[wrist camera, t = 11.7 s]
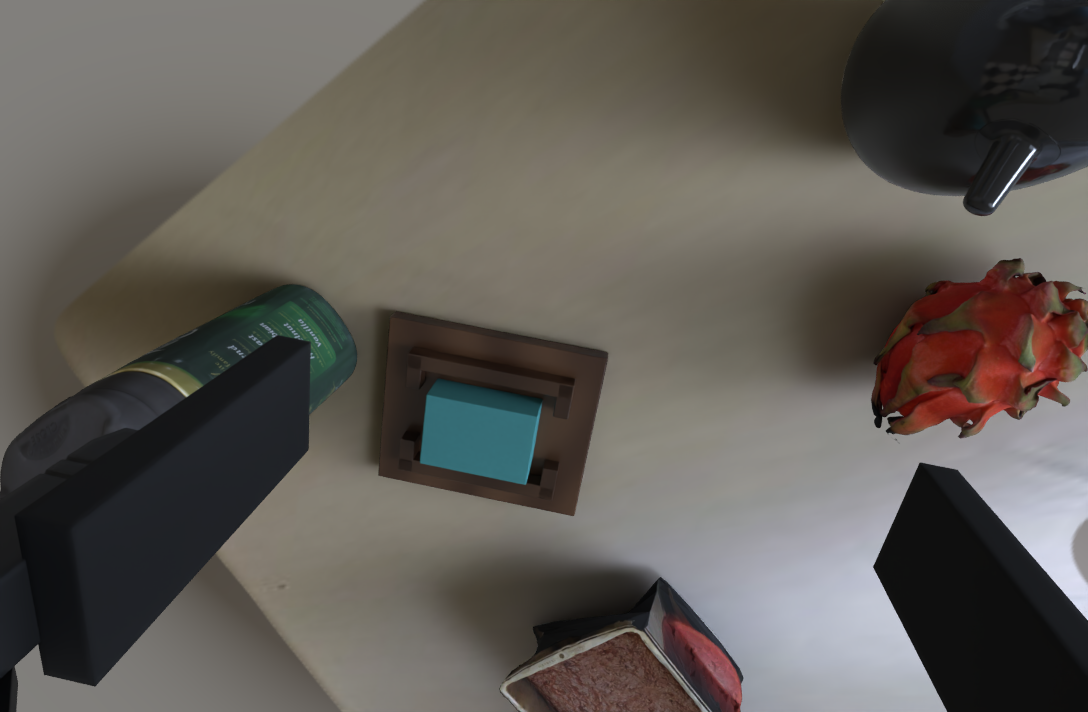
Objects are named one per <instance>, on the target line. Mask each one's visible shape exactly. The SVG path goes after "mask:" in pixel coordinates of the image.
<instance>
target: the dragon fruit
mask: <svg viewBox="0 0 1088 712" xmlns="http://www.w3.org/2000/svg"><path fill="white" fill-rule="evenodd" d="M1024 270H1025V266H1024V262H1023V260H1022V259H1021V258H1019V259H1013V260H1001V261H999V262H998V263H997V264H996V265H995V266H994V267H993V269H991V270H989V271H988V272H987V275H986V276H985V278H984V279H983V280H981V281H980V282H972V283H954V282H951V281H948V280H947V281H939V282H934V283H932V284H930V285H929V286H928V287H927V288H926V289H925V292H926V297H923V298H921V299H920V300H917V301H916V302H914V303H913V304H912V305H911V307H910V308H909V309H908V311H907V312H906V314H905V316H904V318H903V319H902V320H901V322H900V323H899V324H898V325H897V327H896V328H895V329H894V331H893V332H892V334H891V335H890V337H889V339H888V341H887V343H886V345H885V347H884V349H883V350H882V351H881V353H880V354H879V355H878V356H877V357H876V358H875V360H874V364H875V365H877V364H878V366H877V372H876V382H875V387H874V390H873V393H872V398H871V403H872V409H873V413H874V415H875V416H876V418H875V420H874V423H875V426H876V427H877V428H880V427H881V423H882V416H883V417H886V416H887V415H888V414H890V413H895V412H896V411H898V412H900V414H901V415H903V416H904V417H903V416H898V417H888V418H887V420H888V423H889V424H890V426H891V427H890V428H888V429H887V430H886V432H887V433H892V434H893V435H894V434H895V433H897V434H902V435H909V434H914V433H917V432H920V431H922V430H924V429H926V428H928V427H931V426H934V425H937V424H939V423H941V422H943V421H944V420H946V419H949V418H950V419H951V421H952V422H953V423H954V424H956V425H958V426H959V427H961V428H962V429H961V430H962V432H961V433H960V435H959V436H958V437H959V438H966V437H969V436H973V435H975V434H977V433H979V432H980V431H981V430H982V428H983V427H984V425H985V423H986V422H987V420H988V419H989V418H990V417H991V416H993V415H994V414H996V413H998V412H1000V411H1002V410H1005V411H1006V412H1007V413H1008V414H1009V415H1010V416H1011V417H1012V418H1015V419H1018V420H1020V419H1022V417H1023V415H1024V414H1025V413H1026V412H1027V411H1028V410H1031V409H1032V408H1035V407H1036V405H1037V403H1038V400H1039V396H1038V395H1040V396H1043V397H1046V398H1048V399H1051V400H1054V401H1056V402H1059V403H1061V404H1062V406H1067V405H1068V404H1069V403H1070V399H1069V398H1068V397H1067V396H1065V395H1064V394H1063V393H1061V392H1060V391H1059V390H1058V389H1057V386H1058V384H1059V381H1061V382H1071V381H1074V380H1075V379H1076V378H1077V377H1078V376H1079V375H1080V374H1081V372H1084V371H1085V372H1086V371H1087V370H1088V369H1087V365H1086V364H1085V363H1084V362H1083V361H1082V360H1081V356H1082V355H1083V354H1084V353H1085V352H1086V351H1087V350H1088V301H1086V300H1084V299H1075V300H1073V299H1066V296H1067V294H1068V293H1069V292H1071V291H1076V290H1078V291H1080V292H1081V293H1084V292H1083V291H1082V290H1081V287H1077V286H1075V285H1073V284H1071V283H1069V282H1059V281H1054V282H1053V281H1048V282H1046V280H1045V278H1044V277H1043V276H1042V274H1041V273H1039V272H1035V273H1024ZM1023 273H1024V274H1023ZM1015 276H1019V277H1017V278H1016V277H1015ZM1084 294H1086V293H1084ZM882 405H883V409H882ZM968 420H971V421H972V422H973V424H972V425H970V424H968V423H966V422H967V421H968ZM896 441H897V440H896ZM898 443H899V442H898Z"/></svg>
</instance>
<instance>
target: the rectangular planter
mask: <svg viewBox="0 0 1088 712" xmlns="http://www.w3.org/2000/svg"><path fill="white" fill-rule="evenodd" d="M533 632H534V634H535V635H536V638H537V644H538V647H537V650H536V653H535V655H534V656H532V657H531V658H530V659H529V660H527V661H526V662H525V663H523V664H522V665H519V667H517V668H516V669H514V670H513V671H512V672H511V673H510V674H509V675H508V676H507V678H506V679H505V680H504V681H503V683H502V684H501V686H500V688H499V690H500V692H501V694H502V695H503V696H504V697H505V698H507V699H508V700H509V701H510V703H511V704H512V705H513V706H514V707H515V708H516V709H517V710H518V711H519V712H741V711H740V706H741V701H742V690H741V683H742V681H743V676H742V673H741V671H740V669H739V667H738V666H737V664H736V663H735V662H734V660H733V659H732V658H731V656H730V655H729V654H728V652H727V651H726V650H725V648H724V647H723V645H722V644H721V643H720V642H719V640H718V639H717V638H716V637H715V636H714V635H713V633H712V632H711V631H710V630H709V629H708V627H707V626H706V625H705V624H704V623H703V622H702V620H701V619H700V618H699V617H698V616H697V614H696V613H695V612H694V611H693V610H692V609H691V607H690V606H689V605H688V604H687V603H686V602H685V601H684V600H683V599H682V598H681V597H680V596H679V595H678V593H677V592H676V591H675V590H674V589H673V588H672V587H671V586H670V585H669V584H668V583H667V582H666V581H665V580H664V579H662V578H661V577H660V578H659V579H658V580H657V581H656V582H655V583H654V584H653V586H652V587H651V588H650V589H649V590H648V591H647V593H646V594H645V595H644V596H643V597H642V598H641V599H640V601H639V602H638V603H637V604H636V605H635V606H634V608H633V609H632V610H631V611H630V612H629V613H628V614H620V615H611V616H602V617H594V618H585V619H576V620H568V621H559V622H553V623H548V624H544V625H540V626H535V627H533Z"/></svg>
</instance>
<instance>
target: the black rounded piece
mask: <svg viewBox="0 0 1088 712" xmlns="http://www.w3.org/2000/svg"><path fill="white" fill-rule="evenodd" d="M841 110H842V117H843V123H844V127H845V130H846V133H847V136H848V138H849V141H850V143H851V145H852V147H853V148H854V150H855V152H856V153H857V155H858V156H859V157H860V159H861V160H862V161H863V162H864V163H865V165H866V166H867V167H868V168H870V169H871V170H872V171H873V172H874V173H876V174H877V175H878V176H880V177H881V178H883V179H884V180H886V181H888V182H890V183H892V184H894V185H896V186H899V187H901V188H904V189H907V190H911V191H914V192H919V193H923V194H930V195H940V196H965V197H964V199H963V205H964V207H965V209H966V210H967V211H969V212H970V213H972V214H974V215H978V216H987V215H990V214H992V213H993V212H994V211H995V210H996V209H997V207H998V206H999V205H1000V203H1001V202H1002V201H1003V200H1004V198H1005V197H1006V196H1007V194H1008V193H1009V192H1010V191H1013V190H1018V189H1022V188H1026V187H1030V186H1034V185H1037V184H1041V183H1044V182H1048V181H1051V180H1054V179H1057V178H1060V177H1063V176H1066V175H1068V174H1071V173H1074V172H1076V171H1078V170H1081V169H1083V168H1085V167H1087V166H1088V0H885V1H884V2H883V3H882V4H881V5H880V6H879V8H878V9H877V10H876V11H875V12H874V14H873V15H872V16H871V17H870V19H869V20H868V21H867V23H866V24H865V26H864V27H863V29H862V31H861V32H860V34H859V36H858V37H857V39H856V41H855V43H854V46H853V48H852V50H851V52H850V55H849V58H848V61H847V64H846V67H845V71H844V76H843V81H842V89H841Z"/></svg>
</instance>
